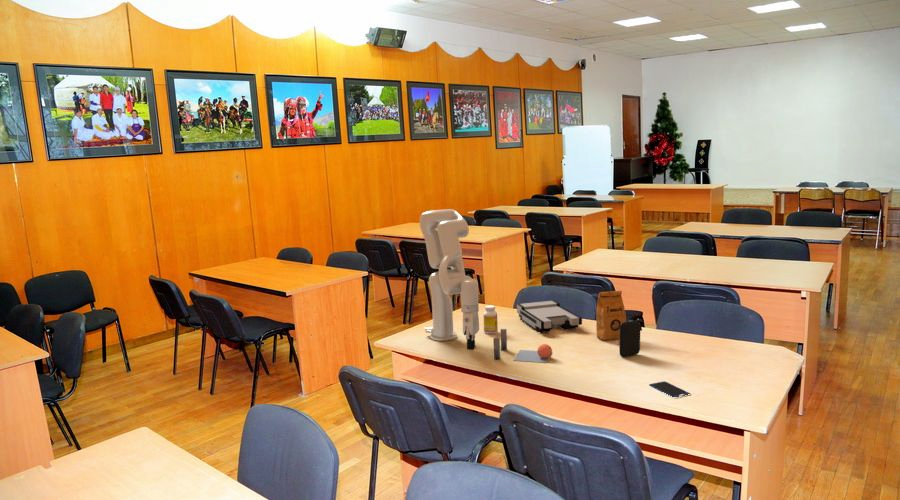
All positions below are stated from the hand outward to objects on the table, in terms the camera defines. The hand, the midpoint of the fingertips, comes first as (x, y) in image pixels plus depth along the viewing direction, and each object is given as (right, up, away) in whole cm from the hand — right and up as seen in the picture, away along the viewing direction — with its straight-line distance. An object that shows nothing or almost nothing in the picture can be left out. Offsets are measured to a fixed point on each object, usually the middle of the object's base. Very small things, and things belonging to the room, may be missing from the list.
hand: (471, 349), depth 263 cm
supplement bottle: (+10, +3, +29) cm, 31 cm away
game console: (+40, +5, +39) cm, 56 cm away
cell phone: (+68, -7, -49) cm, 84 cm away
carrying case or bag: (+66, -1, -12) cm, 67 cm away
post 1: (+10, -3, -10) cm, 15 cm away
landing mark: (+26, -2, -8) cm, 27 cm away
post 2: (+14, -1, +2) cm, 15 cm away
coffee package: (+64, +3, +13) cm, 65 cm away
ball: (+30, +1, -11) cm, 32 cm away
